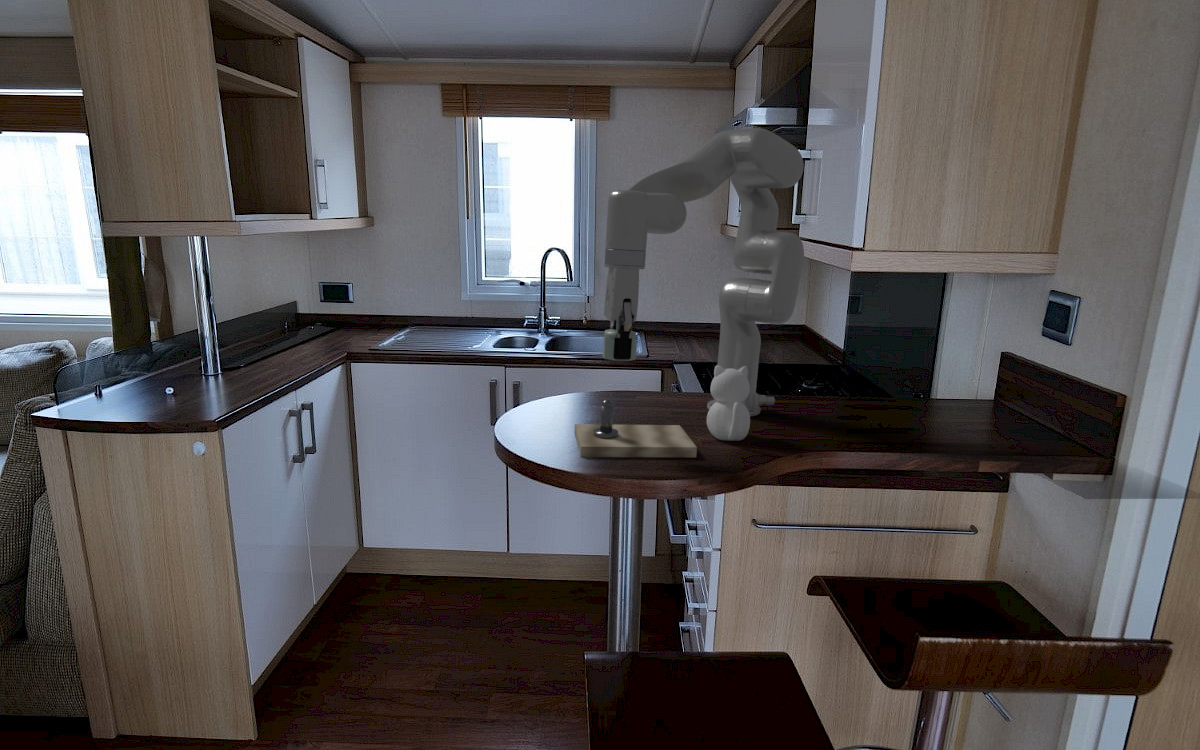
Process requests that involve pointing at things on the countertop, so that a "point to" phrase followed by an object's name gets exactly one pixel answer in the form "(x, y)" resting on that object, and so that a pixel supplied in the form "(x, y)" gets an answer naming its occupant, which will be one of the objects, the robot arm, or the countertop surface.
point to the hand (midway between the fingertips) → (618, 354)
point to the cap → (609, 345)
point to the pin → (606, 422)
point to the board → (635, 441)
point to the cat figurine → (729, 404)
